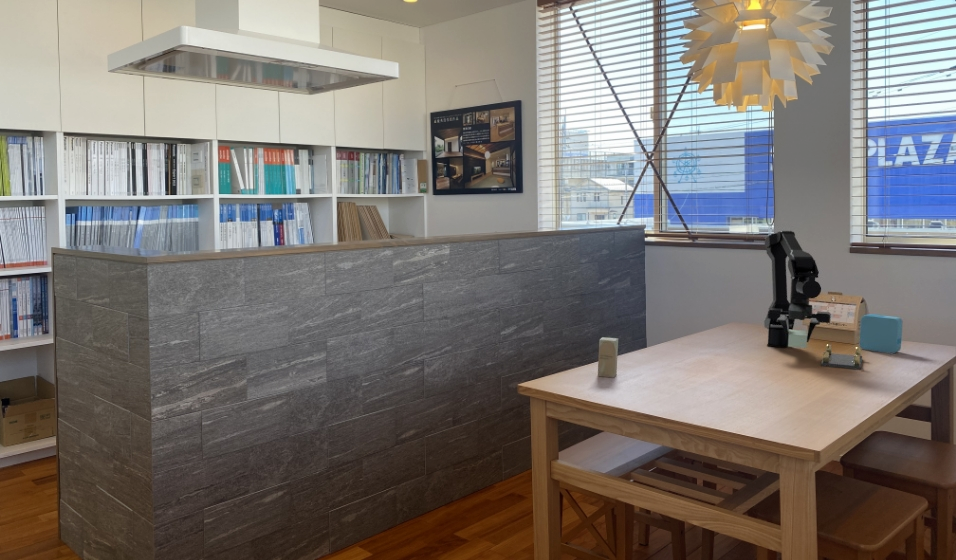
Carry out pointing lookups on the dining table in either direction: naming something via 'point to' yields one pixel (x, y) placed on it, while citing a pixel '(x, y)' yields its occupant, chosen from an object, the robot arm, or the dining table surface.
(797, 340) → the pale green block
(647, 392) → the dining table surface
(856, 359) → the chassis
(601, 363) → the box
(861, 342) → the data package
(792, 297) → the robot arm
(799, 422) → the dining table surface
